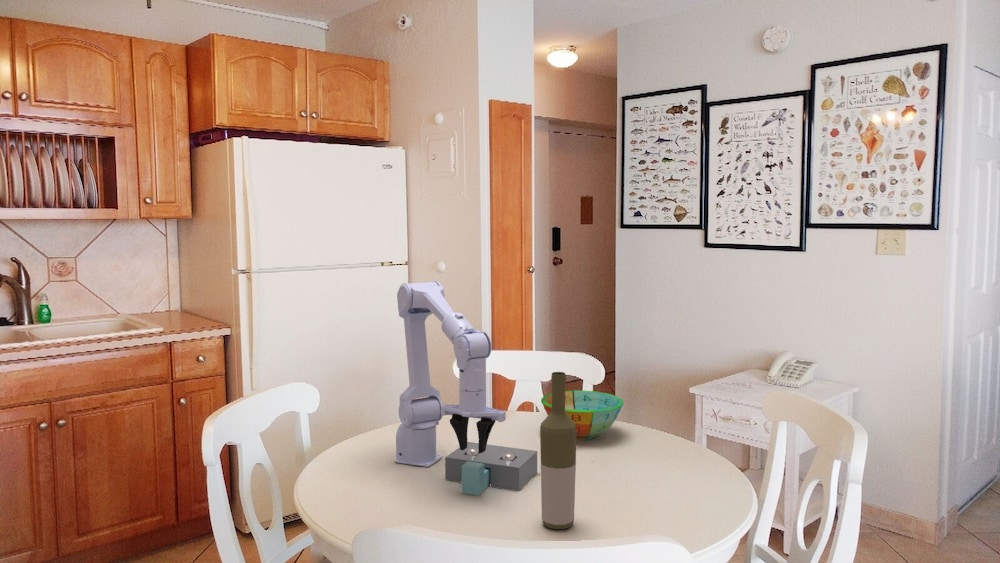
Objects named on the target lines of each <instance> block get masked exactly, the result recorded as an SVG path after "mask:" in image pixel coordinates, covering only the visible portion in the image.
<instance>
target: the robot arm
mask: <svg viewBox="0 0 1000 563" xmlns="http://www.w3.org/2000/svg"><path fill="white" fill-rule="evenodd" d="M396 298H397V300H396V301H397V310H398V317H400V318H402V319H403V324H404V335H405V336H404V338H405V348H406V359H407V360H406V362H407V369H408V370H407V371H408V381H409V383H408V384H409V386H408V387H406V389H404V391H402V393H401V394H400V395H399V406H398V418H399V419H400V422H401V424H400V425H399V426H398V428H397V430H396V433H395V454H396V455H395V457H396V458H395V460H394V463H398V464H404V465H412V466H419V467H425V468H429V467H431V466H432V465H434V464H435V463H437V462H438V461H440V460H441V459H442V458H444V455H443V454H437V426H439V424H440V421H442V418H443V416H447V415H448V416H451V418H450V419H449V423H450V425H451V427H452V429H453V431H454V433H455V435H456V438H457V442H458V447H460V450H464V449H466V448H467V442H468V430H469V429H468V428H469V419H470V418H473V419H479V420H478V421H476V423H475V424H476V429H477V433H478V434H477V435H478V443H479V453H483V452H484V451H485V450H486V445H487V444H488V441H489V438H490V434H491V432H492V429H493V426H494V425H495V423H496V421H497V422H498V423H504V421H506V418H507V417H506V416H507V414H506V413H507V412H506V410H500V409H497V408H492V407H489V406H487V361H486V360H487V359H488V358H489V357H490V355H491V353H492V341H491V337H490V336H489V335H488V333H487V332H486V331H483V330H482V331H481V330H476V329H475V327H474V326H473V325H472V324H471V322H469V321H468V319H467V318H466V317H465V316H464V314H463V313H461V312H455V311H454V310H453V308H452V307H451V306H450V304H449V303H448V301H447V300H446V298H445V288H444V287H443V285H442V284H441V282H439V281H437V280H434V281H430V282H429V281H428V282H425V281H424V282H412V283H411V282H410V283H408V282H402V284H400V286H399V287H398V291H397V294H396ZM431 315H434V316H435V317H436V318H437V319H438V321H439V322H440V323H441V325H440V326H441V330H442V332H443V334H445V336H446V337H447V338H448V339H449V341H450V342H451V343H452V345H453V351H454V355H455V358H456V366H457V368H458V370H459V372H458V375H459V376H458V377H459V382H458V383H459V388H458V389H459V391H458V392H459V396H458V397H459V404H446V403H445V404H444V403H443V401H442V399H441V398H442V397H441V391H440V390H438V388H436V387H434V386H432V384H431V378H430V365H429V355H428V343H427V333H426V320H427V318H428V317H429V316H431Z"/></svg>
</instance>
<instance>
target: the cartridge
mask: <svg viewBox="0 0 1000 563" xmlns="http://www.w3.org/2000/svg"><path fill="white" fill-rule="evenodd" d="M489 486H491V473H490V468H486V467H484V464H482V463H475V462H468V461H467V462H466V463H465V464H464V465H462V482H461V493H462V494H467V495H473V496H480V495H481V494H482V493H483V492H484V491H485V489H486V488H488V487H489Z"/></svg>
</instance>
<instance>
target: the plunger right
mask: <svg viewBox="0 0 1000 563" xmlns="http://www.w3.org/2000/svg"><path fill="white" fill-rule="evenodd" d="M502 460H507V461H514V460H515V454H514V453H512V452H505V453H503V454H502Z"/></svg>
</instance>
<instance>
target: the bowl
mask: <svg viewBox="0 0 1000 563" xmlns="http://www.w3.org/2000/svg"><path fill="white" fill-rule="evenodd" d="M540 402H541V404H542V405H543V409H544V411H545V412H546V415H547V416H548V415H549V414H550V413H551V410H552V392H550V393H549V394H548V393H547V395H544V396H543V397H542V398H541V399H540ZM624 404H625V402H624V400H623V399H622V398H621V397H619V396H616V395H614V394H611V393H606V392H601V391H596V390H595V391H594V390H565V412H566V414H567V415H568V416H569V417H570V418H571V420H572V421H573V422H574V423H575V425H576V429H577V432H576V441H577V440H578V441H581V440H582V441H587V440H592V439H594V438H596V437H598V436H600V435H602V434H604V433H605V432H607V431H608V430H609V429H610V427H612V425H614V423H615V421H616V420H617V417H618V415H619V413H620V412H621V409H622V407H623V406H624Z"/></svg>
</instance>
